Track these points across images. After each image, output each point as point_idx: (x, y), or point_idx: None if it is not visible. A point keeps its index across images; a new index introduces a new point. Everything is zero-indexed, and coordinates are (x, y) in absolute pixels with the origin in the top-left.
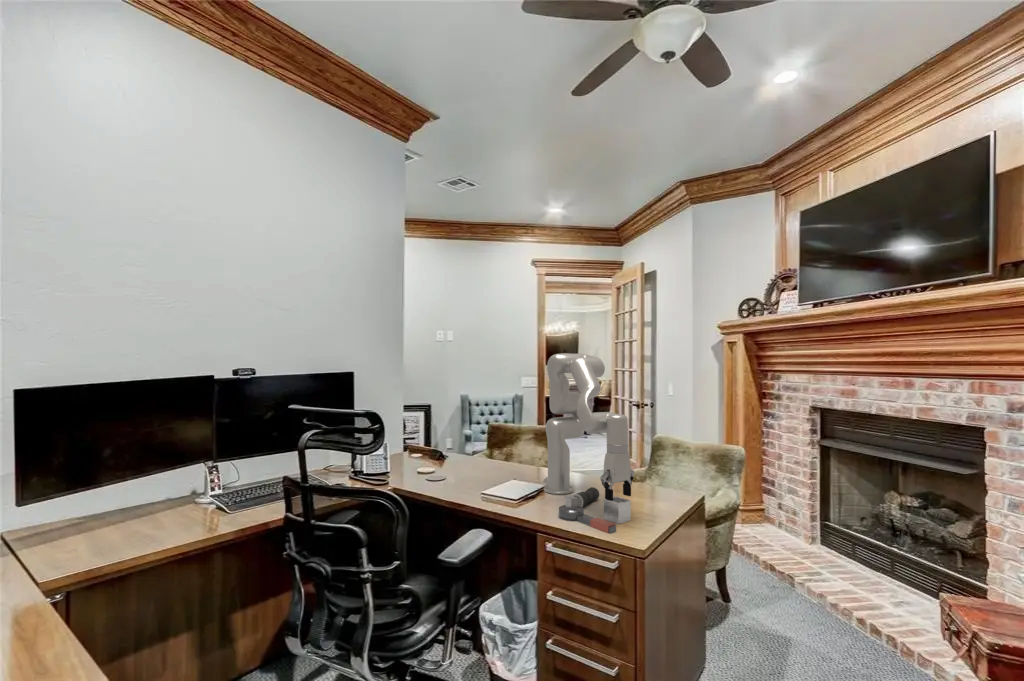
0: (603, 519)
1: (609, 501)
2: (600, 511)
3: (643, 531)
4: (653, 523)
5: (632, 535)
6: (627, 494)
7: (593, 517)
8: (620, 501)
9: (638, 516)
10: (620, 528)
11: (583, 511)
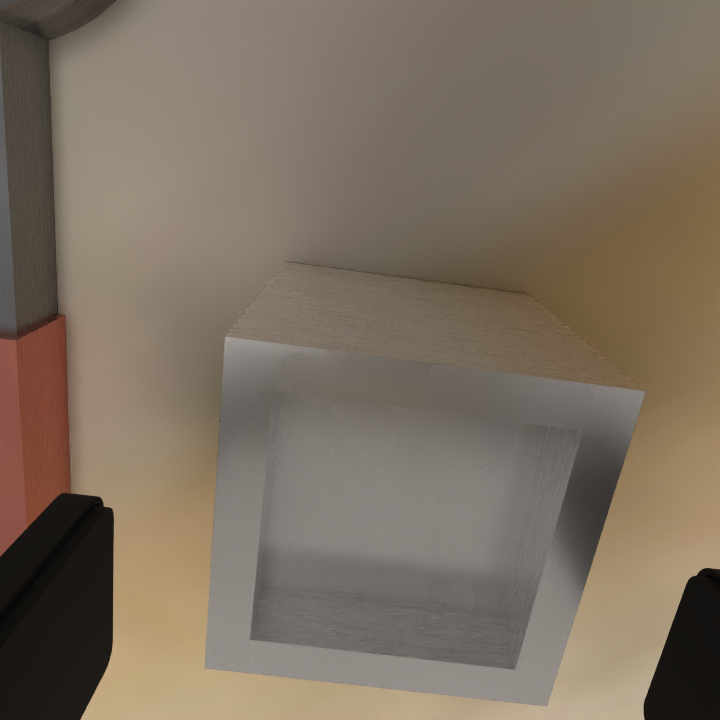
0: (22, 443)
1: (217, 479)
2: (552, 9)
3: (279, 716)
4: (554, 685)
5: (112, 701)
6: (671, 690)
7: (8, 271)
8: (535, 496)
9: (677, 495)
10: (174, 553)
11: (16, 2)
